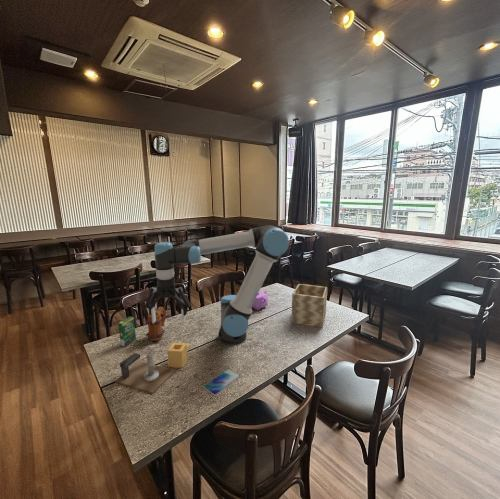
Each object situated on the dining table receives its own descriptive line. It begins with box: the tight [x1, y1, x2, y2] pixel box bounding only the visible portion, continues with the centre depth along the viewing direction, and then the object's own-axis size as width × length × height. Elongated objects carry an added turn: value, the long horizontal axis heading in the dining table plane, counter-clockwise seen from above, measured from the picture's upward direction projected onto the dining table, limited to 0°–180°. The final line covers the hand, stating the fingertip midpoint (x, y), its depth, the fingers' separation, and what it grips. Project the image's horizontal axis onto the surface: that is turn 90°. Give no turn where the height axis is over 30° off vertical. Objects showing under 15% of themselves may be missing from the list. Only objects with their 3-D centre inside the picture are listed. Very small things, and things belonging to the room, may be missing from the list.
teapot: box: [251, 289, 269, 311], centre depth 182 cm, size 15×13×11 cm
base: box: [114, 352, 176, 395], centre depth 113 cm, size 19×14×12 cm
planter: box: [290, 283, 328, 328], centre depth 165 cm, size 18×19×18 cm
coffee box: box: [117, 315, 137, 348], centre depth 139 cm, size 8×3×13 cm, turn 159°
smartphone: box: [203, 368, 241, 396], centre depth 111 cm, size 7×1×15 cm
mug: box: [145, 306, 166, 342], centre depth 145 cm, size 15×8×15 cm, turn 168°
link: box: [167, 342, 191, 369], centre depth 127 cm, size 16×6×8 cm, turn 174°
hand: (168, 321), depth 124 cm, fingers open, 13 cm apart
